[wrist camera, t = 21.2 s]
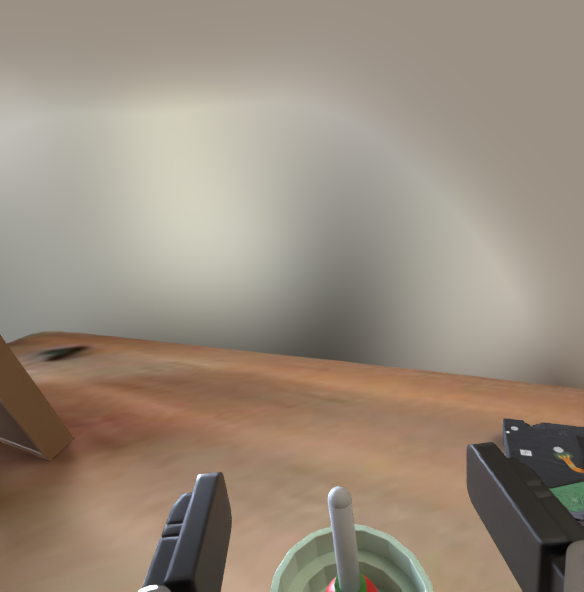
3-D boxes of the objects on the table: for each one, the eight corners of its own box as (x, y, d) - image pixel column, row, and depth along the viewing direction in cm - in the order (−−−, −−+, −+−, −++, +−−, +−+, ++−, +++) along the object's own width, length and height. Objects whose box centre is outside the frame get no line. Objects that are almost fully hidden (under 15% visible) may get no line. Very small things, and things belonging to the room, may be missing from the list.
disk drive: (500, 436, 50) (516, 529, 37) (500, 417, 49) (517, 505, 36) (598, 447, 46) (655, 556, 33) (599, 427, 45) (659, 530, 32)
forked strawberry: (338, 684, 27) (315, 527, 23) (319, 617, 31) (297, 476, 27) (398, 660, 28) (385, 505, 24) (371, 598, 32) (357, 459, 28)
